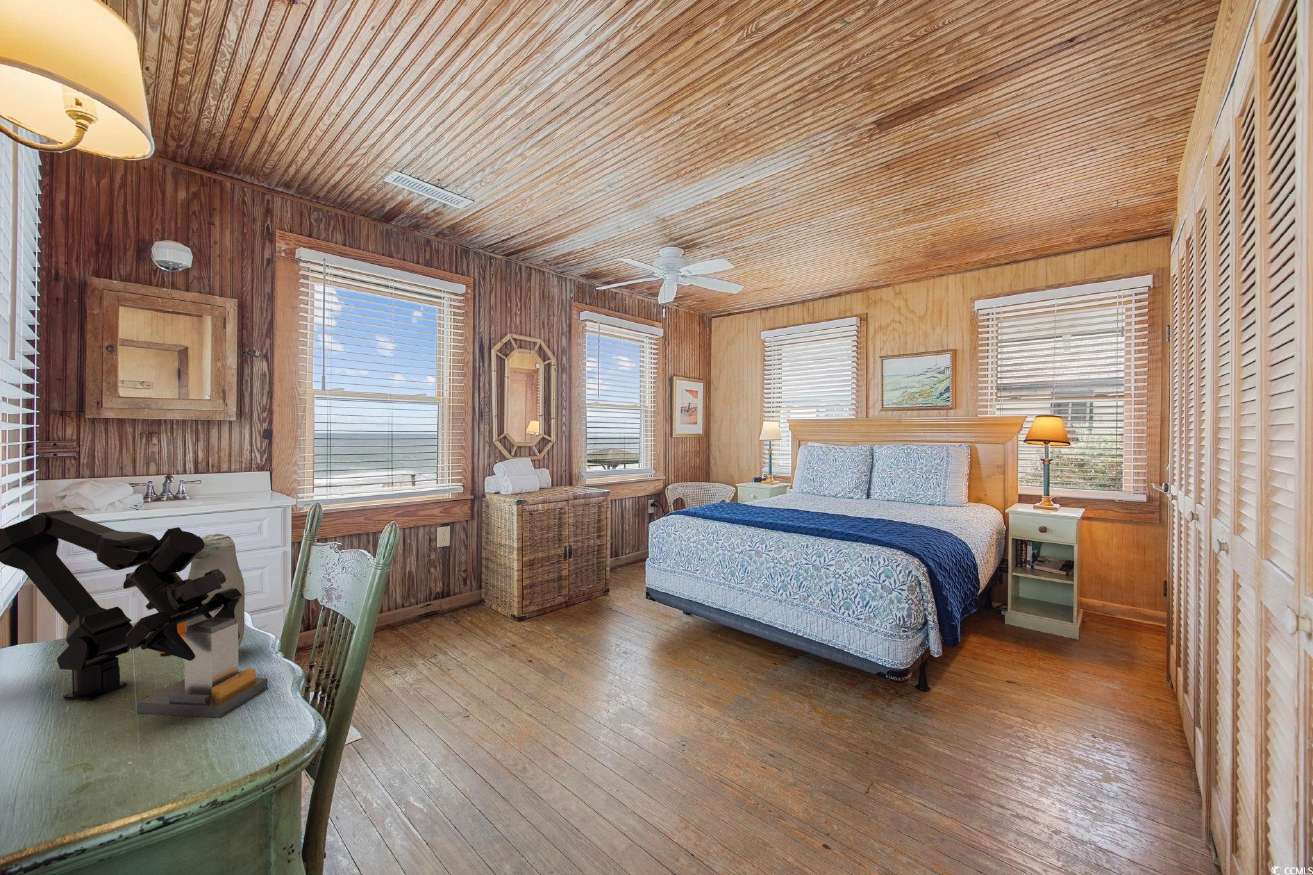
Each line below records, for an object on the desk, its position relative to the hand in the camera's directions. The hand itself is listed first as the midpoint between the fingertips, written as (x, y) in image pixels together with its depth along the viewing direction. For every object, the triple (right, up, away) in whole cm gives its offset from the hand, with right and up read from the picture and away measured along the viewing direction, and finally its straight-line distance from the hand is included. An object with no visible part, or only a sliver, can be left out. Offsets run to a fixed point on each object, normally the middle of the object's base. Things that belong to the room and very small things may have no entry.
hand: (216, 648), depth 103 cm
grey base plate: (-3, -10, 0) cm, 10 cm away
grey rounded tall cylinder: (-15, -10, +19) cm, 26 cm away
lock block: (-1, -8, 0) cm, 8 cm away
